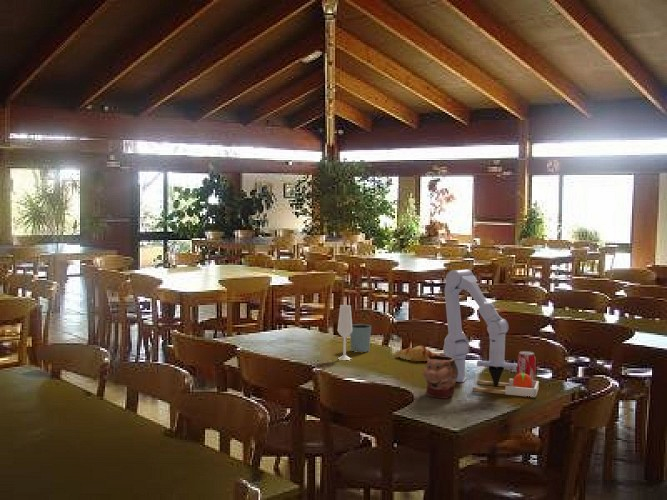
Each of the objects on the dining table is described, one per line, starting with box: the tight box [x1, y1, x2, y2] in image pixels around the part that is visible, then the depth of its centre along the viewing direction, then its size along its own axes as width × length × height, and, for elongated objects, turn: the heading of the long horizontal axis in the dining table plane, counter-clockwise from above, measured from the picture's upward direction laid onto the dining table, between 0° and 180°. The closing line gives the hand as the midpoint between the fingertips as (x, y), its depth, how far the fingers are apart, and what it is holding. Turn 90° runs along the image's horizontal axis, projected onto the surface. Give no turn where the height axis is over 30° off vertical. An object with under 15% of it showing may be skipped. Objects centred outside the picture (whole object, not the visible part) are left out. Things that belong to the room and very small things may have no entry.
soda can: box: [516, 350, 537, 381], centre depth 302 cm, size 7×7×12 cm
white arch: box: [504, 378, 540, 398], centre depth 289 cm, size 11×14×3 cm
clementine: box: [513, 373, 532, 388], centre depth 289 cm, size 8×7×7 cm
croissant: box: [395, 345, 441, 362], centre depth 343 cm, size 21×10×8 cm, turn 65°
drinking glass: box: [349, 323, 372, 353], centre depth 359 cm, size 10×10×12 cm
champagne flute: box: [337, 304, 353, 361], centre depth 340 cm, size 7×7×24 cm
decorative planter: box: [423, 355, 458, 399], centre depth 282 cm, size 20×12×14 cm, turn 158°
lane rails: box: [472, 379, 509, 395], centre depth 293 cm, size 12×13×1 cm
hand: (495, 386), depth 292 cm, fingers closed
